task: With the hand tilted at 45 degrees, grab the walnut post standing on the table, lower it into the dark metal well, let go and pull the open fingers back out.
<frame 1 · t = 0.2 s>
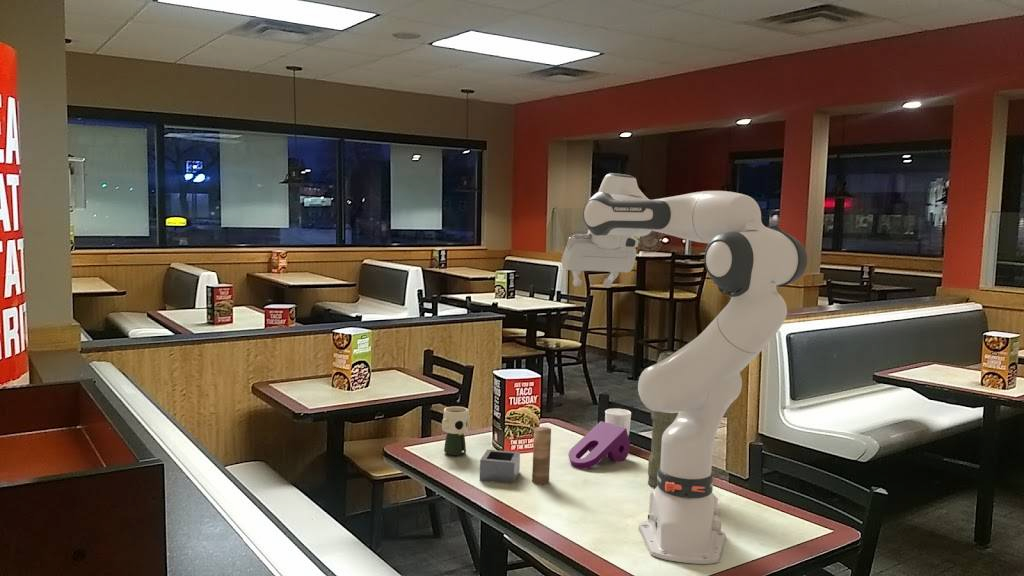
hand: (591, 285, 198), 51 cm above the table, tool tilted 20°, fingers open, 8 cm apart
metal well: (499, 476, 204), on the table
mounting bracket: (595, 462, 219), on the table
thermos: (664, 485, 201), on the table
character mug: (454, 454, 221), on the table
white cup: (616, 444, 236), on the table
walnut post: (540, 481, 201), on the table
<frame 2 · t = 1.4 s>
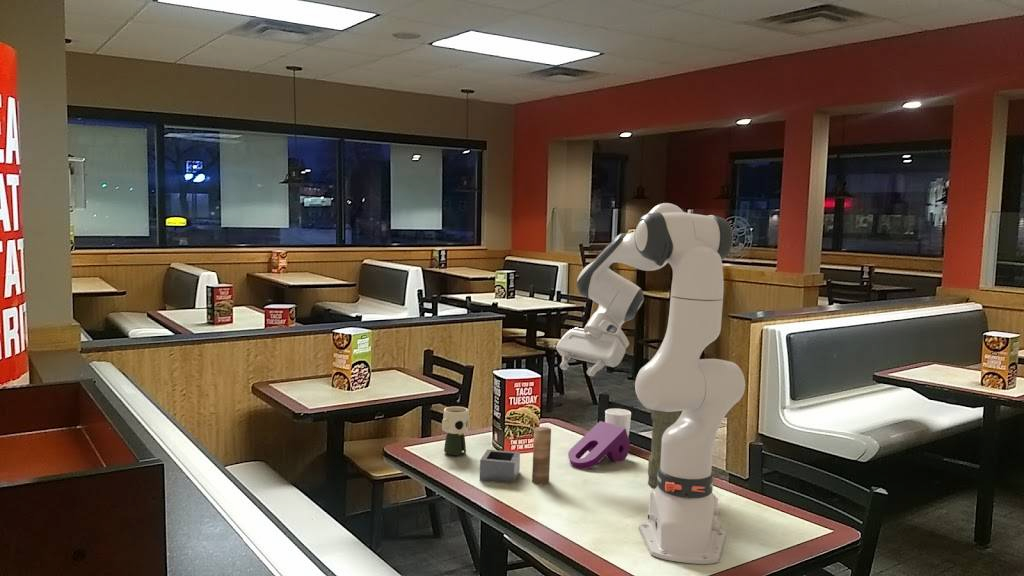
hand: (575, 371, 207), 28 cm above the table, tool tilted 45°, fingers open, 8 cm apart
nothing on the table moved.
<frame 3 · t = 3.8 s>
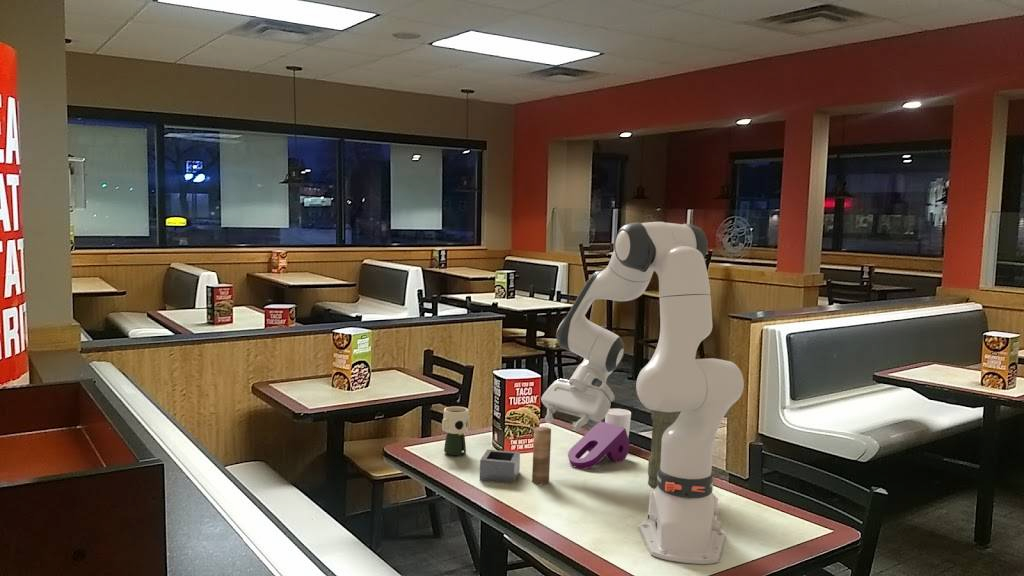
hand: (560, 425, 204), 14 cm above the table, tool tilted 45°, fingers open, 8 cm apart
nothing on the table moved.
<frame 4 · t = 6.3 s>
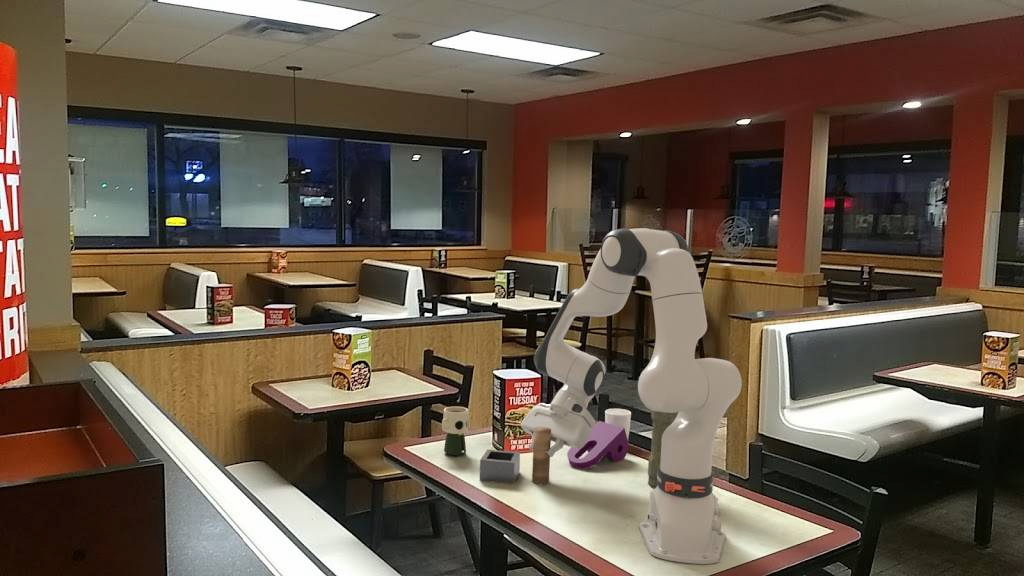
hand: (540, 452, 199), 8 cm above the table, tool tilted 45°, fingers closed on walnut post, 4 cm apart
walnut post: (540, 481, 201), on the table, touching gripper
everything else where it was.
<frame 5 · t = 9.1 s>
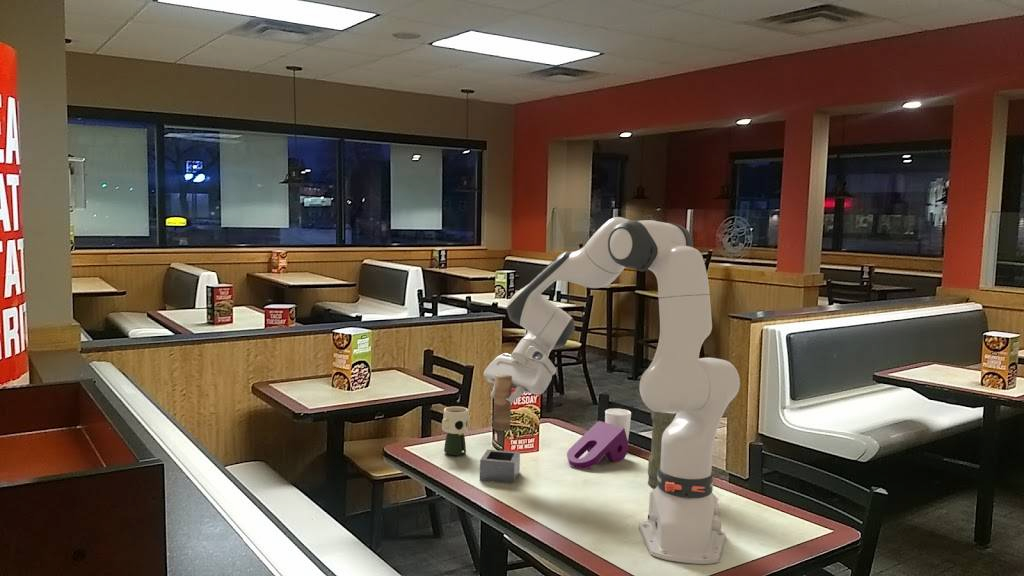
hand: (500, 399, 201), 21 cm above the table, tool tilted 45°, fingers closed on walnut post, 4 cm apart
walnut post: (501, 428, 202), point 13 cm above the table, touching gripper
everything else where it was.
when the fingers open (9 cm above the table, at t = 12.0 s): walnut post drops 1 cm, resting in metal well.
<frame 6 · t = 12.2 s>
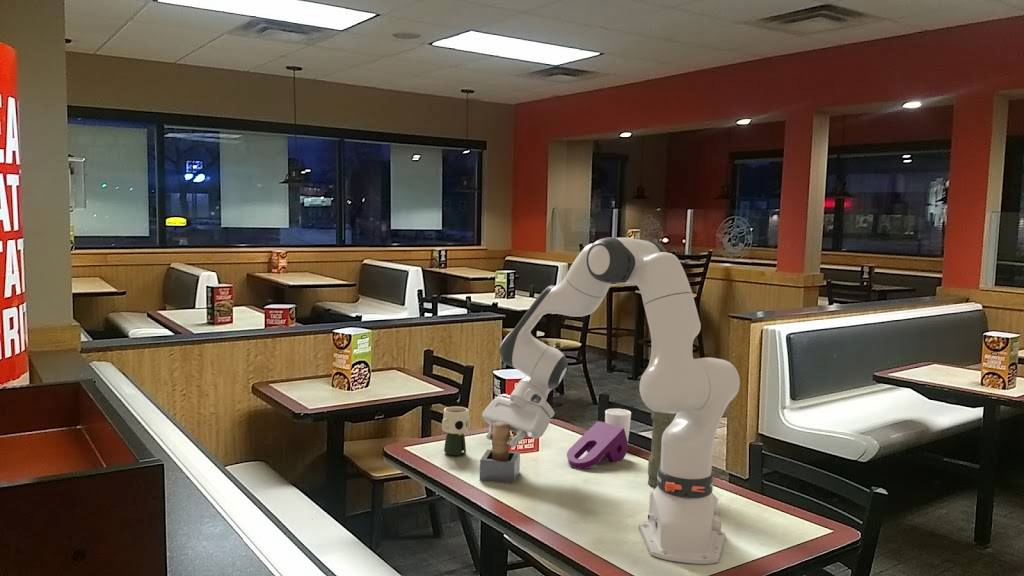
hand: (499, 442, 202), 9 cm above the table, tool tilted 45°, fingers open, 6 cm apart
walnut post: (500, 476, 204), resting in metal well
everything else where it was.
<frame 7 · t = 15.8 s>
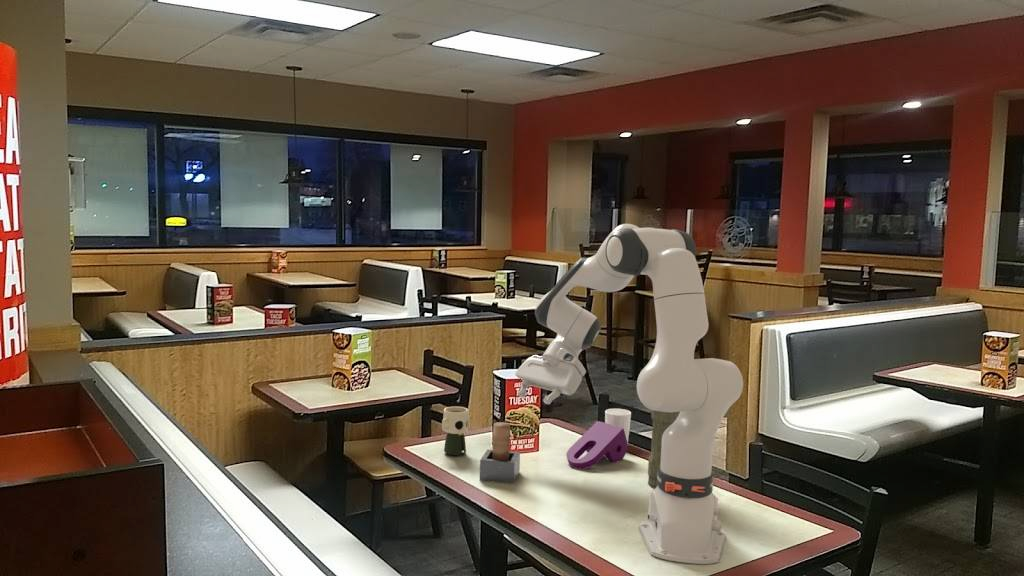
hand: (533, 399, 210), 19 cm above the table, tool tilted 45°, fingers open, 8 cm apart
nothing on the table moved.
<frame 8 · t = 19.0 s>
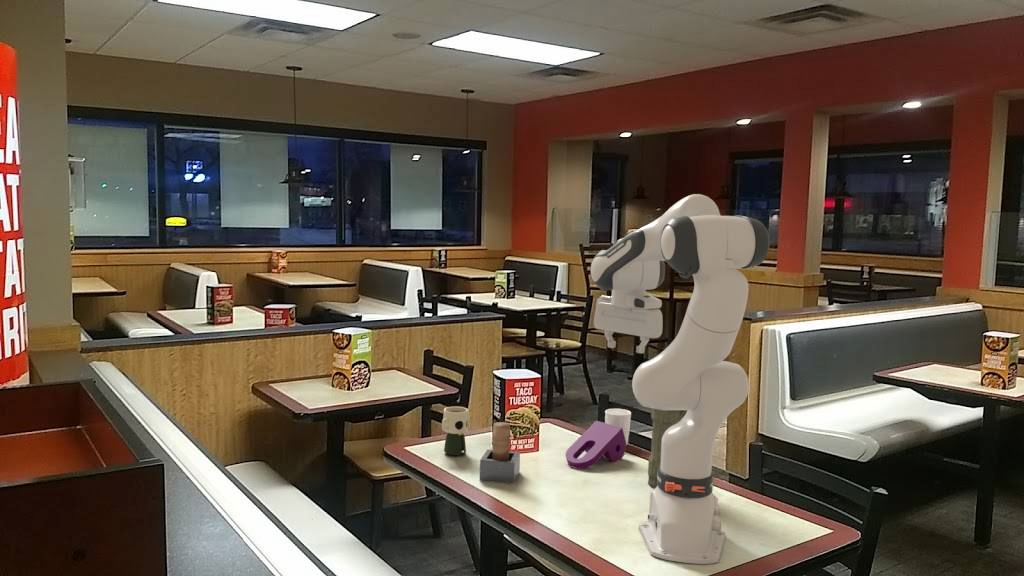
hand: (625, 350, 205), 34 cm above the table, tool pointing down, fingers open, 8 cm apart
nothing on the table moved.
at the end: walnut post 0.1 cm off-centre on the metal well, point 0.0 cm above the metal well's base; walnut post tilted 0°; the gripper is holding nothing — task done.
